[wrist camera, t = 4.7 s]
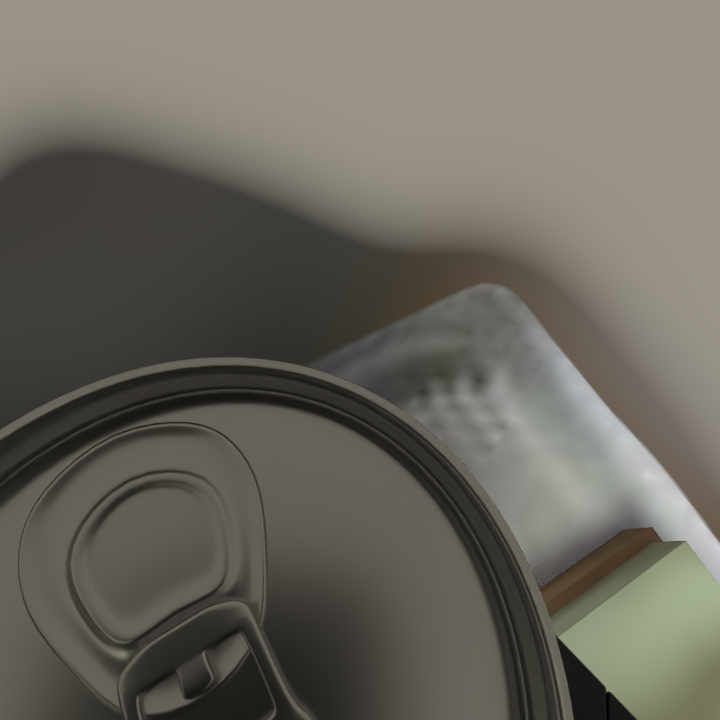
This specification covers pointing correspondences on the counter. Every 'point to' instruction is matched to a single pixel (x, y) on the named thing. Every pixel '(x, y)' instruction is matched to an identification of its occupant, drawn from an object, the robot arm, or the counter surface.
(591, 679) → the robot arm
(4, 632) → the can
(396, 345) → the counter surface
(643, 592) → the tower base
